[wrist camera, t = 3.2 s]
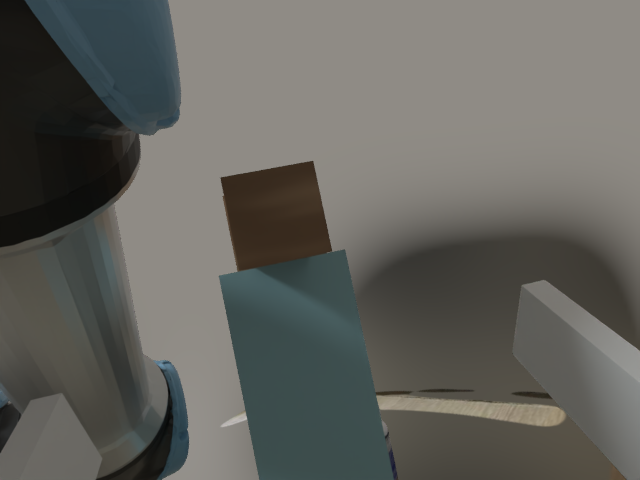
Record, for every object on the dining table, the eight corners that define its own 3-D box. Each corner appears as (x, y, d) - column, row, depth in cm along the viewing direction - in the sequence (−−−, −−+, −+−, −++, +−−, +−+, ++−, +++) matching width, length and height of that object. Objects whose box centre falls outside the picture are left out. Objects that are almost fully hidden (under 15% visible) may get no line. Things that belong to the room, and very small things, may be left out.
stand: (299, 595, 36) (234, 272, 37) (393, 565, 37) (327, 253, 38) (307, 722, 26) (218, 275, 27) (435, 677, 27) (344, 249, 28)
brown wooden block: (245, 270, 37) (232, 208, 37) (317, 255, 38) (304, 195, 38) (202, 278, 16) (175, 137, 16) (365, 244, 17) (337, 110, 17)
